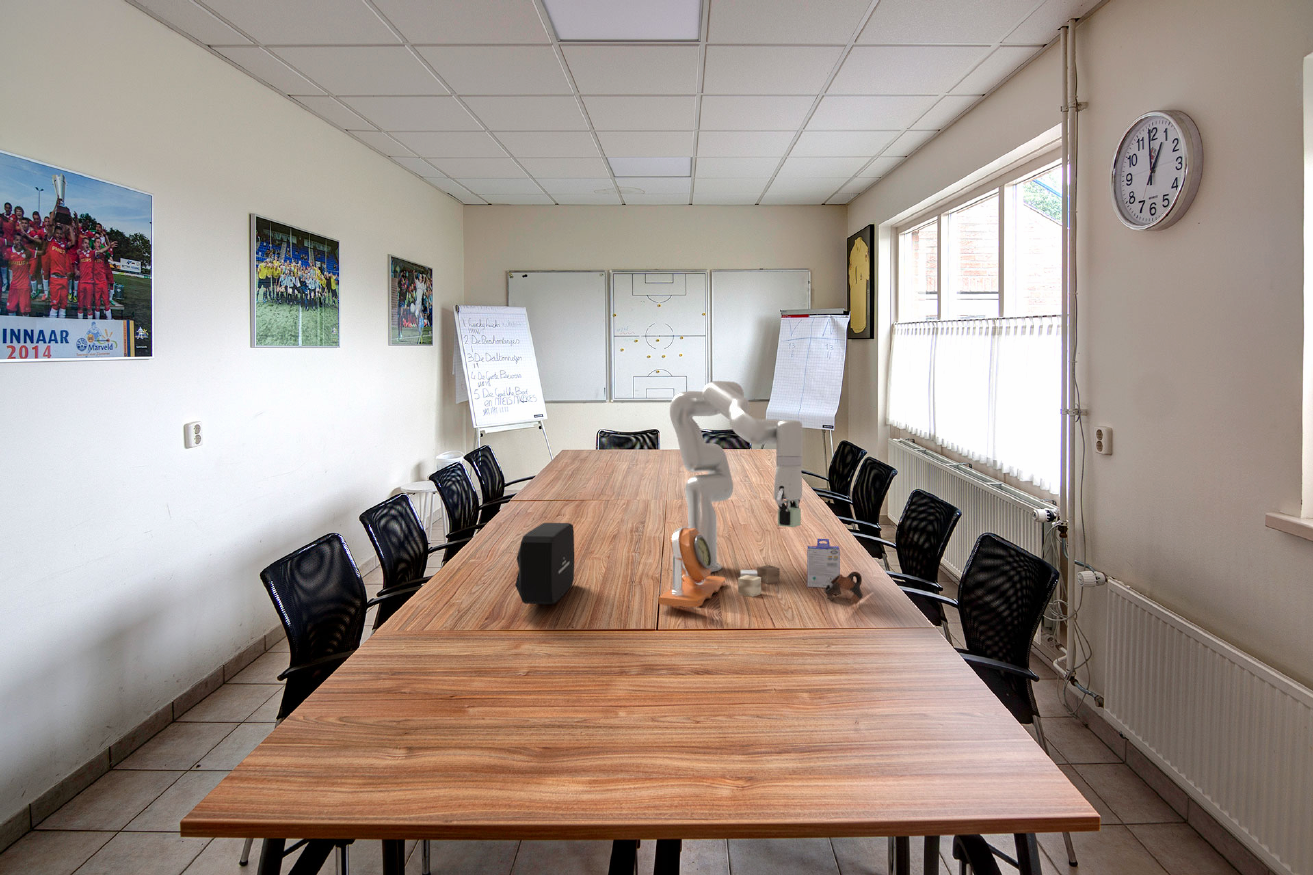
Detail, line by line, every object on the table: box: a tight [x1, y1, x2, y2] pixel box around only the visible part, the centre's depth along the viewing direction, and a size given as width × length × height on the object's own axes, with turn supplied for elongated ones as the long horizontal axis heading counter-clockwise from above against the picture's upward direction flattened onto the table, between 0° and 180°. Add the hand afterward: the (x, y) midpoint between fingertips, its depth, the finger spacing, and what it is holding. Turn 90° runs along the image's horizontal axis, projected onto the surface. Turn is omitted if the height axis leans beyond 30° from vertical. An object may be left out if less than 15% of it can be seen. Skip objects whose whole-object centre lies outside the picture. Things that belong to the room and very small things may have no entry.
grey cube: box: [740, 569, 758, 577], centre depth 218 cm, size 5×5×5 cm
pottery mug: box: [823, 571, 864, 606], centre depth 203 cm, size 12×9×8 cm
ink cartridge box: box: [806, 538, 841, 588], centre depth 220 cm, size 10×6×14 cm, turn 79°
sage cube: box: [777, 507, 802, 528], centre depth 208 cm, size 5×5×5 cm
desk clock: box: [658, 526, 726, 608], centre depth 210 cm, size 12×30×20 cm, turn 158°
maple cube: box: [737, 575, 762, 598], centre depth 210 cm, size 5×5×5 cm
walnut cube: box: [756, 564, 781, 585], centre depth 224 cm, size 5×5×5 cm
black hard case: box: [515, 522, 575, 605], centre depth 210 cm, size 30×12×20 cm, turn 174°
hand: (789, 522), depth 209 cm, fingers closed on sage cube, 5 cm apart
